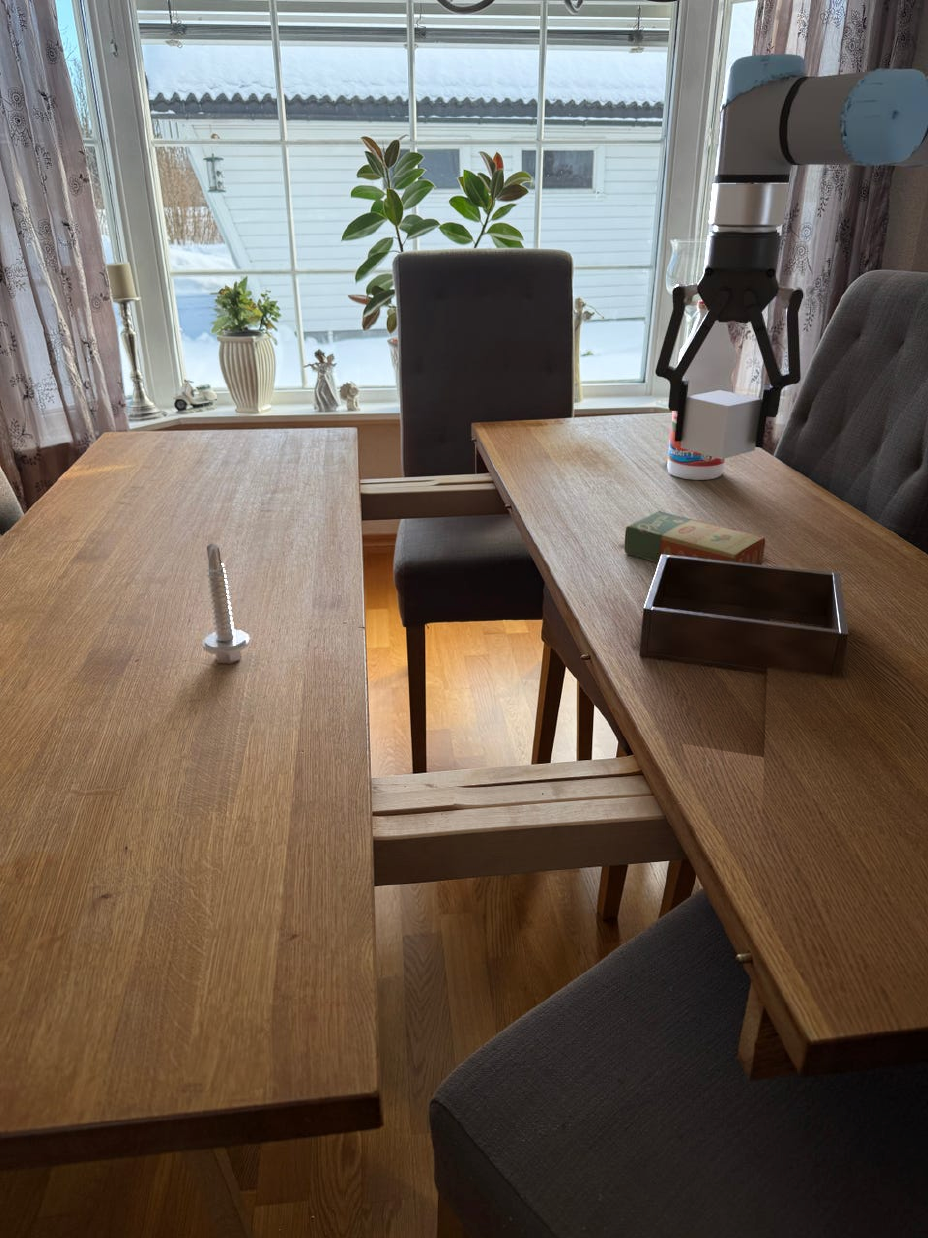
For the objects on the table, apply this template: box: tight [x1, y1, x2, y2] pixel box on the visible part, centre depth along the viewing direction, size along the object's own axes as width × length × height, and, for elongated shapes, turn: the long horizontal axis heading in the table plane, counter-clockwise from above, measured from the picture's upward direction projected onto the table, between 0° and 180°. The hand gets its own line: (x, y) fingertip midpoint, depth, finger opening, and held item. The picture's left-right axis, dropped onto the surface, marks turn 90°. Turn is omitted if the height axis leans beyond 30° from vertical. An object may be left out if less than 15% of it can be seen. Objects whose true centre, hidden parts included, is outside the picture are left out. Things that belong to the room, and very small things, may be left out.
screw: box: [201, 542, 251, 665], centre depth 90 cm, size 13×5×5 cm
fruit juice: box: [666, 299, 737, 481], centre depth 145 cm, size 9×9×28 cm
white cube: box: [681, 390, 762, 459], centre depth 102 cm, size 6×6×6 cm
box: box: [638, 554, 849, 677], centre depth 96 cm, size 20×16×6 cm
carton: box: [624, 510, 766, 565], centre depth 116 cm, size 8×16×4 cm, turn 47°
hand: (718, 441), depth 103 cm, fingers closed on white cube, 8 cm apart
